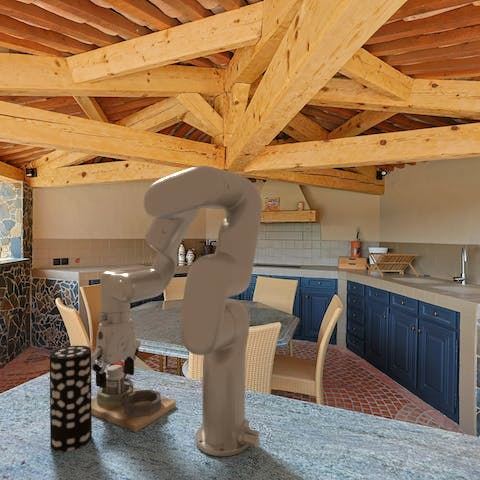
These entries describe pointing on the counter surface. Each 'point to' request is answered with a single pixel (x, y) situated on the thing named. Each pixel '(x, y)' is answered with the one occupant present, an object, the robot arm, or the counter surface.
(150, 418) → the socket board
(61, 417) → the spotted tube
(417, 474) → the counter surface
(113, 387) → the pill bottle
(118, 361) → the decorative stone
